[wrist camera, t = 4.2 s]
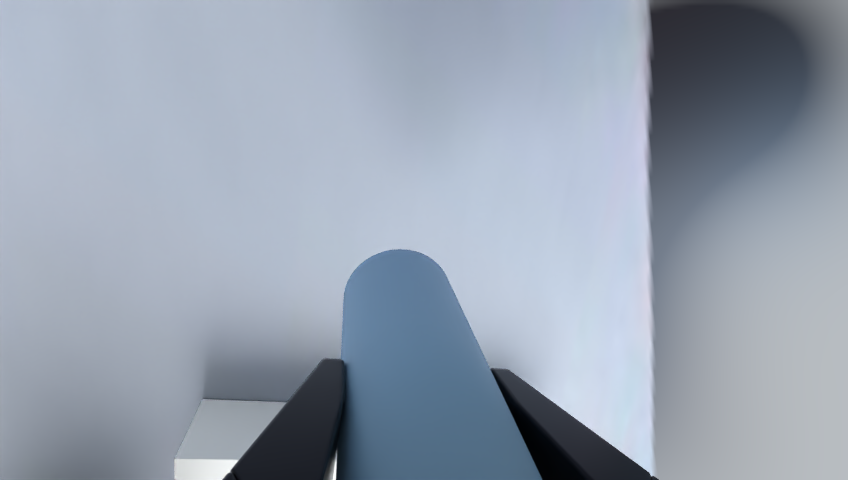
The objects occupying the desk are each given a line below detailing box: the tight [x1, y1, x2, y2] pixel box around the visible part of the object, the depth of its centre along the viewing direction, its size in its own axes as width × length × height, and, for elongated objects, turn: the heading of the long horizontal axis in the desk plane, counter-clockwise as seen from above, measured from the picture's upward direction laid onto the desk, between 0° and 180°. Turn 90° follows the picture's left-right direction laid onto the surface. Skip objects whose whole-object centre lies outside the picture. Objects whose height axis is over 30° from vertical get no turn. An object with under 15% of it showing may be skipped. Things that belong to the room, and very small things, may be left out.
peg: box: [336, 249, 542, 480], centre depth 8 cm, size 3×3×10 cm
